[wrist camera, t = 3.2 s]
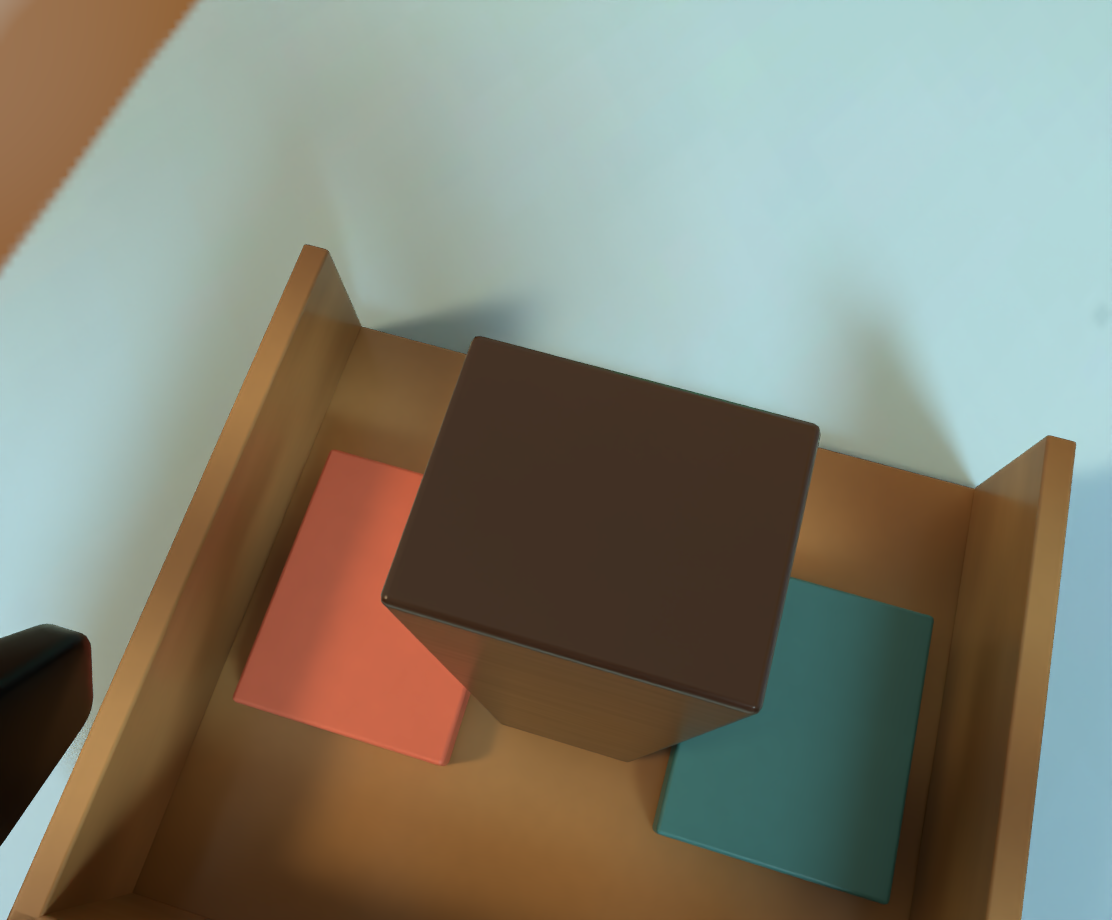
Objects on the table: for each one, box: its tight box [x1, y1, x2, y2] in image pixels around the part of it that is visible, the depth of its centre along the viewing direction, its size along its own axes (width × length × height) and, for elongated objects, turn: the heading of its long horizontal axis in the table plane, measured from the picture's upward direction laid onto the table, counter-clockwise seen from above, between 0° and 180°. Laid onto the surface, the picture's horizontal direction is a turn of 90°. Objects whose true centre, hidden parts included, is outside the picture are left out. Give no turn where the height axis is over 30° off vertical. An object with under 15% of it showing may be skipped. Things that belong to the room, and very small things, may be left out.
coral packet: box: [233, 449, 471, 766], centre depth 17 cm, size 5×4×1 cm
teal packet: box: [652, 577, 934, 905], centre depth 17 cm, size 5×4×1 cm
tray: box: [7, 244, 1076, 920], centre depth 12 cm, size 12×14×12 cm
